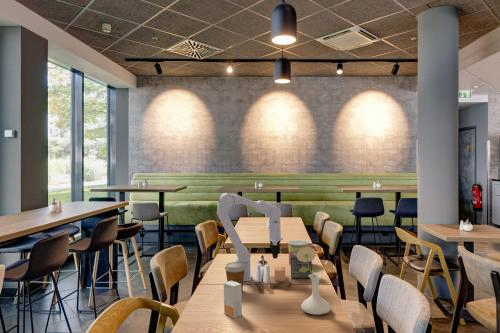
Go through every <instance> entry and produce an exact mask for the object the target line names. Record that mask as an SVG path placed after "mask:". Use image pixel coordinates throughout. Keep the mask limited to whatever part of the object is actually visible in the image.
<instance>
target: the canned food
mask: <svg viewBox="0 0 500 333" xmlns="http://www.w3.org/2000/svg"><path fill="white" fill-rule="evenodd" d="M303 247H305V248H306V247H308V248H309V242H308V241H306V240H291V241H290V240H289V242H288V265H289V266H291V255H296V254H298V251H299V250H300V249H303Z"/></svg>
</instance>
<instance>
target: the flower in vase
mask: <svg viewBox="0 0 500 333" xmlns="http://www.w3.org/2000/svg"><path fill="white" fill-rule="evenodd" d="M296 256H297V258H298V260H299V261H303V262H308V261H311V260H312V261H313V260H314V259H315V258H316V257H317V252H316V250H315V248H312V247H311V246H308V247H306V248H305V247H303V249H300V250H299V251H298V254H296ZM308 268H309V264H308ZM308 268H306V267H302V268H301V269H299V271H300V272H307V271H308V270H310V268H309V269H308ZM321 269H322V266H318V267H316V268H315V267H314V269H312V271H311V270H310V271H311V273H312V274H310V275H309V277H310V279H309V280H310V281H311V286H312V291H311V295H310V296H309V297H307V298H306V299H305V300H304V301H303V302H302V303H301V305H300V308H301V310H302V311H303V312H305V313H307V314H310V315H316V316H317V315H324V314H327V313H329V312H330V311H331V309H332V308H331V304H330V303H329V302H328V301H327V300H325V298H323V297H322V296H321V295H320V293H319V285H320V281H321V278H322V277H323V276H322V275H321V274H318V273H319V272H320V270H321Z"/></svg>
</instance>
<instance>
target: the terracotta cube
mask: <svg viewBox="0 0 500 333" xmlns="http://www.w3.org/2000/svg"><path fill="white" fill-rule="evenodd" d="M274 277H275V281H286V279H285V277H286V267H279V266H278V267H274Z"/></svg>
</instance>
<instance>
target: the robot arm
mask: <svg viewBox="0 0 500 333" xmlns="http://www.w3.org/2000/svg"><path fill="white" fill-rule="evenodd" d="M238 204H240V205H243V206H248V207H250V208H253V209H254V211H255V212H257V213H260V214H264V215H266V216H269V217H268V231H269V232H268V240H269V244H268V247H269V248H270V251H271V254H272V258H273V259H278V256H279V251H280V248H281V241H283V240H284V237H281V235H282V234H281V216H282V209H281V208H280V207H279V206H277V205H275V204H274V203H268V202H265V200H263V199H261V200H258V201H255V200H252V199H249V198H246V197H245V196H241V195H239V194H233V193H231V194H230V193H229V192H223V193H221V195H220V196H219V198H218V200H217V208H216V209H217V210H216V215H217V217H218V220H219V221H220V222H221V225H222V227H223V229H224V230H225V232H226V233H227V234H226V235H228V238H229V240H230V242H231V243H232V245H233V248H234V249H235V256H236V260H232V261H231V262H241V263H244V264H245V267H246V268H245V271H244V280H243V282H251V281H252V278H253V275H252V274H251V256H252V255H251V253H250V251H249V250H248V248H247V247H246V246H245V245H244V243H243V241H242V240H241V238H240V236H239V233H238V231H237V230H236V228H235V227H234V225H233V223H232V220H231V218H230V216H229V215H228V213H229V212H230V208H232V206H233V205H234V206H235V205H238Z"/></svg>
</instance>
